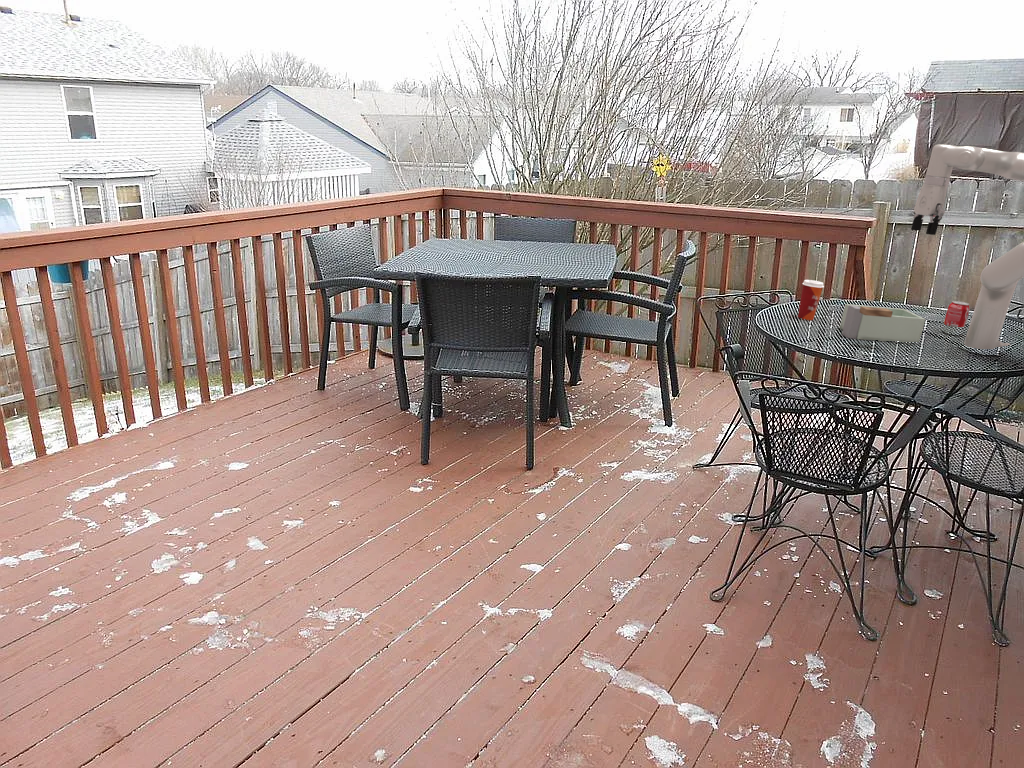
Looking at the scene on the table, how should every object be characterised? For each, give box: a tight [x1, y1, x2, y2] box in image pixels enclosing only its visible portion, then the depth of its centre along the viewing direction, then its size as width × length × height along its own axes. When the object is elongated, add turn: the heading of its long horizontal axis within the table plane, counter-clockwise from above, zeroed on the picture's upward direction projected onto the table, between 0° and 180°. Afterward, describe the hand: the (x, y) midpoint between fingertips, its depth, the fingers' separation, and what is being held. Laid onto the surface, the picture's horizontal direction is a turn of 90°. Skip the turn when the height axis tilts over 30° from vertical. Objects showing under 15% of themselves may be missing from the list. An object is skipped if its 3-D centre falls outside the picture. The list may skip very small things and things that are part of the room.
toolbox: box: [839, 303, 926, 343], centre depth 271 cm, size 25×14×10 cm, turn 92°
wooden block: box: [859, 306, 893, 317], centre depth 255 cm, size 9×4×2 cm, turn 92°
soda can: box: [943, 300, 971, 328], centre depth 285 cm, size 7×7×12 cm
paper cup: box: [797, 279, 825, 321], centre depth 287 cm, size 8×8×14 cm
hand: (922, 232), depth 269 cm, fingers open, 9 cm apart
